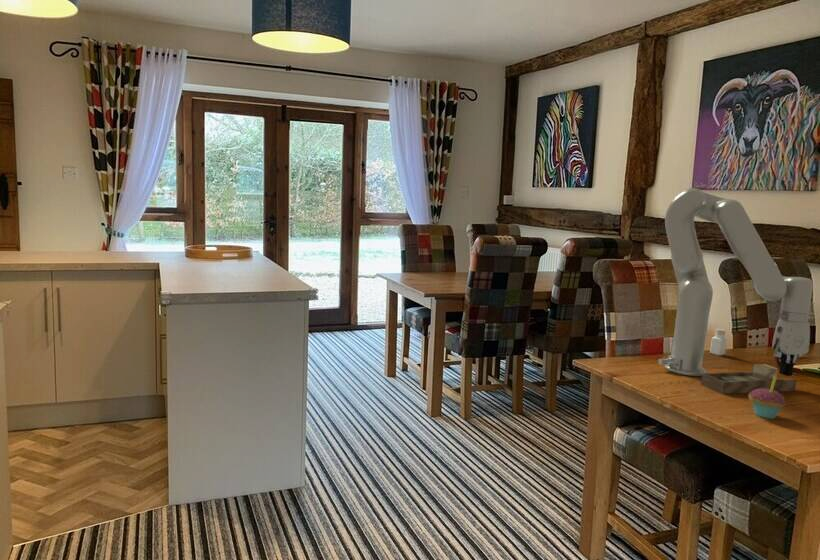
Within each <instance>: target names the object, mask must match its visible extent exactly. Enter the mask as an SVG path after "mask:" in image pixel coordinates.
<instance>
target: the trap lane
mask: <svg viewBox="0 0 820 560" xmlns="http://www.w3.org/2000/svg"><path fill="white" fill-rule="evenodd" d="M752 375H753V371H737V372H735V371H734V372H732V371H731V372H706V373H702V376H701V381H700V385H702V386H704V387H706V388H708V389H711V390H712V391H715V392H718V393H720V394H722V395H724V394H726V395H727V394H745V393H746V394H749V393H750V392H751V391H753V390H754V389H755V390H756V389H758V388H765V389H769V390H770V388H771V385H772V381H773V380H759V379H756V378H753V377H752ZM796 386H797V379H796V378H789V379H788V378H783V379H778V378H777V379H776V382H775V385H774V389H773V391H776V392H795V391H796Z"/></svg>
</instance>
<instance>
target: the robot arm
mask: <svg viewBox="0 0 820 560" xmlns="http://www.w3.org/2000/svg"><path fill="white" fill-rule="evenodd" d="M695 218H699V219H701V220H704V221H707V222H711V223H714V224H717V225H718V227H719V230H720V231H721V232H722V234H723V236H724V238H725V240H726V241H727V243H728V245H729V247H730V250H731V251H732V252H733V254H734V256H735V257H736V258H737V259H738V261H739V262H740V263H741V264H742V265H743V267H744V268H745V269H746V271H747V273H748V274H749V277H750V278H751V280H752V282H753V288H754V290H755V292H756V293H757V294H758V295H759V296H760V297H761V298H763V299H764V300H766V301H771V302H776V301H780V300H781V303H780V309H779V313H778V316H779V317H778V320H777V323H776V326H775V329H774V334H773V338H772V344H771V345H772V346H771V347H772V349H771V350H773V354H772V355H773V356H774V357H775V356H776V357H779V360H780V361H781V364H780V367H779V371H778V372H779V374H780V375H784V376H786V377H790V376H791V377H792V376H793V372H794V366H795V364H796V363H797V362H796V359H797V358H798V359H799V358H800V357H803V356H804V355H806V354H807V353H808V352H809V349H810V340H811V328H810V327H811V326H810V322H809V318H810V317H809V316H810V309H811V303H812V297H813V290H814V282H813V280H812V279H811V278H807V277H802V276H784V275H782V274H781V271H780V270H779V269H778V267H777V265H776V263H775V261H774V259H773V257H771V255H770V253H769V251H768V249H767V247H766V246H765V244H764V242H763V240H762V238H761V236H760V234H759V233H758V231H757V229H756V227H755V226H754V224H753V222H752V221H751V219H750V217H749V215H748V213H747V211H746V209H745V207H744V206H743V205H742V204H741V202H739V201H738V200H737V199H732V198H730V199H728V198H725V197H720V196H717V195H714V194H710V193H707V192H704V191H702V190H701V189H699V188H695V187H689V188H686V189H684V190H683V191H681V192H680V193H678V195H677V196H675V198H673V199H672V200H671V202H670V204H669V205H668V207H667V210H666V211H665V216H664V226H665V231H666V236H667V241H668V242H667V243H668V246H669V249H670V259H671V262H672V267H673V270H674V275H675V279H676V281H677V282H676V283H677V286H678V289H679V293H678V303H677V308H676V316H675V325H674V331H673V332H674V333H673V340H672V346H671V354H670V355H669V354H668V357H666V358H659V359H658V360H657V362H658V364H659V366H660V365H661V366H662V365H664V368H665V369H666V370H667V371H670V372H672V373H675V374H679V375H682V376H683V375H684V376H690V377H702V373H707V370H706V369H705V368H704V367H703V360H704V353H705V345H706V340H707V331H708V326H709V325H708V324H709V318H710V312H711V307H712V302H713V294H714V293H713V292H714V290H713V286H712V284H711V283H710V280H709V277H708V272H707V269H706V265H705V262H704V253H703V252H702V249H701V247H700V244H699V240H698V237H697V231H696V227H695ZM785 355H786V356H785ZM798 359H797V360H798ZM795 362H796V363H795ZM794 363H795V364H794Z"/></svg>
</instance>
